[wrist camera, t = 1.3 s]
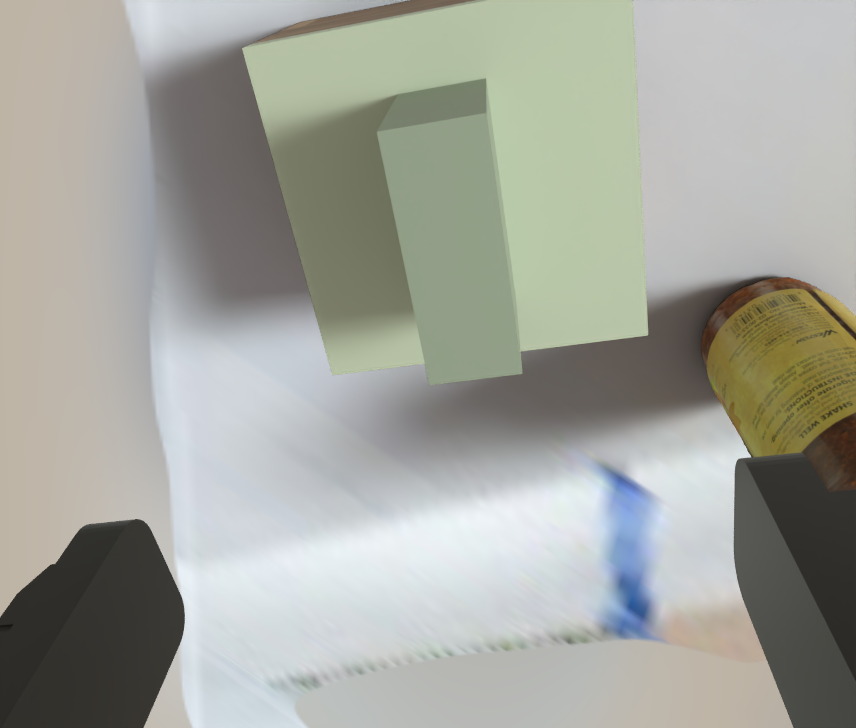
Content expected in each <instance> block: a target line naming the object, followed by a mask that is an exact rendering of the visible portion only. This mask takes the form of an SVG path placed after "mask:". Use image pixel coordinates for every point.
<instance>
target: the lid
mask: <svg viewBox="0 0 856 728" xmlns="http://www.w3.org/2000/svg"><path fill="white" fill-rule="evenodd" d="M242 50H243V54H244V58H245V61H246V65H247V68H248V72H249V76H250V79H251V83H252V86H253V90H254V94H255V97H256V101H257V104H258V108H259V112H260V115H261V119H262V123H263V126H264V130H265V133H266V137H267V141H268V144H269V148H270V151H271V155H272V159H273V162H274V166H275V170H276V173H277V177H278V180H279V184H280V188H281V191H282V195H283V198H284V202H285V206H286V209H287V213H288V217H289V220H290V224H291V227H292V231H293V235H294V238H295V242H296V245H297V249H298V253H299V256H300V260H301V263H302V267H303V271H304V274H305V278H306V282H307V285H308V289H309V292H310V296H311V300H312V303H313V307H314V310H315V314H316V318H317V321H318V325H319V329H320V332H321V336H322V339H323V343H324V347H325V350H326V354H327V357H328V361H329V365H330V368H331V372H332V375H339V374H347V373H355V372H363V371H371V370H379V369H387V368H395V367H403V366H410V365H418V364H425V367H426V372H427V376H428V381H429V385H436V384H444V383H452V382H460V381H469V380H477V379H485V378H493V377H501V376H510V375H518V374H523V372H522V361H521V351H529V350H537V349H545V348H553V347H561V346H569V345H576V344H584V343H592V342H600V341H608V340H616V339H624V338H632V337H640V336H648V319H647V297H646V276H645V254H644V232H643V210H642V189H641V167H640V145H639V124H638V102H637V80H636V59H635V37H634V15H633V0H474V1H469V2H464V3H459V4H454V5H449V6H444V7H438V8H433V9H428V10H423V11H418V12H413V13H408V14H402V15H397V16H392V17H387V18H382V19H377V20H372V21H366V22H361V23H356V24H351V25H346V26H341V27H336V28H331V29H325V30H320V31H315V32H310V33H305V34H300V35H295V36H289V37H284V38H279V39H274V40H269V41H264V42H259V43H253V44H250V45H248V46H245V47H243V48H242Z"/></svg>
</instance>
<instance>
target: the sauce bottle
mask: <svg viewBox="0 0 856 728" xmlns="http://www.w3.org/2000/svg"><path fill="white" fill-rule="evenodd" d="M701 352H702V358H703V360H704V363H705V366H706V369H707V373H708V378H709V381H710V384H711V387H712V389H713V391H714V393H715V394H716V396H717V398H718V400H719V401H720V403H721V404H722V406H723V407H724V409H725V411H726V413H727V415H728V416H729V418H730V420H731V421H732V423H733V425H734V426H735V428H736V430H737V431H738V433H739V435H740V437H741V438H742V440H743V442H744V445H745V446H746V448H747V450H748V452H749V454H750V455H751V457H760V456H770V455H780V454H790V453H803V454H804V455H805V456H806V457H807V458H808V459H809V461H810V462H811V464H812V466H813V467H814V469H815V470H816V472H817V473H818V475H819V477H820V478H821V480H822V481H823V483H824V485H825V486H826V488H827V489H828V491H829V492H833V491H843V490H854V489H856V316H855V315H854V314H853V313H852V312H851V311H849V310H848V309H847V308H846V307H845V306H844V305H843V304H842V303H841V302H840V301H838V300H837V299H836V298H834V297H833V296H831V295H829V294H827V293H825V292H823V291H822V290H820V289H818V288H817V287H815V286H812V285H810V284H808V283H805V282H802V281H800V280H796V279H792V278H789V277H787V278H771V279H767V280H763V281H759V282H757V283H755V284H753V285H750V286H745V287H744V288H741V289H739V290H738V291H737V292H735V293H733V294H732V295H730V296H729V297H728V298H727V299H726V300H725V301H724V302H722V303H721V304H720V305H718V307H717V308H716V310H715V312H714V313H713V314H712V315H711V317H710V319H709V320H708V321H707V325H706V328H705V330H704V331H703V335H702V340H701Z"/></svg>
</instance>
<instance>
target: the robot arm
mask: <svg viewBox="0 0 856 728" xmlns="http://www.w3.org/2000/svg"><path fill="white" fill-rule="evenodd" d="M734 560H735V568H736V574H737V579H738V583H739V587H740V591H741V594H742V598H743V600H744V603H745V606H746V608H747V611H748V613H749V616H750V618H751V621H752V623H753V626H754V628H755V631H756V633H757V636H758V639H759V641H760V644H761V646H762V649H763V651H764V654H765V656H766V659H767V661H768V664H769V666H770V669H771V671H772V674H773V676H774V679H775V681H776V684H777V687H778V689H779V692H780V694H781V697H782V699H783V702H784V704H785V707H786V709H787V712H788V715H789V717H790V720H791V722H792V725H793V727H794V728H856V489H854V490H843V491H833V492H829V491H828V489H827V488H826V486H825V485H824V483H823V481H822V480H821V478H820V477H819V475H818V473H817V472H816V470H815V469H814V467H813V466H812V464H811V462H810V461H809V459H808V458H807V457H806V456H805V455H804V454H803V453H790V454H780V455H770V456H760V457H751V458H741V459H738V460H737V462H736V467H735V497H734ZM184 623H185V613H184V605H183V600H182V597H181V595H180V592H179V590H178V588H177V586H176V584H175V581H174V580H173V577H172V575H171V573H170V571H169V568H168V566H167V564H166V562H165V560H164V558H163V555H162V553H161V551H160V549H159V546H158V544H157V542H156V540H155V538H154V536H153V534H152V531H151V530H150V528H149V526H148V525H147V524H146V523H145V522H144V521H142V520H138V519H135V520H126V521H116V522H107V523H96V524H89V525H86V526H84V527H82V528H81V529H80V530H79V531H78V533H77V534H76V535H75V536H74V538H73V539H72V541H71V542H70V544H69V545H68V547H67V548H66V549H65V551H64V552H63V554H62V555H61V557H60V558H59V560H58V561H57V562H56V564H52V565H50V566H49V567H47V569H45V570H44V571H43V572H42V573H41V574H39V575H38V576H37V577H36V578H35V579H34V580H33V581H32V582H30V583H29V584H28V585H27V586H26V587H25V588H23V589H22V590H21V591H20V592H19V593H18V594H17V595H16V596H15V598H14V599H13V600H12V602H11V603H10V605H9V606H8V607H7V609H6V610H5V612H4V613H3V614H2V616H1V617H0V728H143V727H144V725H145V723H146V721H147V718H148V716H149V714H150V711H151V709H152V707H153V705H154V702H155V700H156V698H157V695H158V693H159V691H160V688H161V686H162V684H163V682H164V679H165V677H166V675H167V672H168V670H169V668H170V665H171V663H172V661H173V659H174V656H175V654H176V651H177V649H178V647H179V645H180V642H181V639H182V636H183V631H184Z"/></svg>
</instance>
